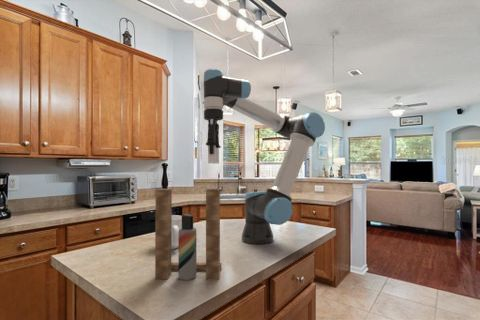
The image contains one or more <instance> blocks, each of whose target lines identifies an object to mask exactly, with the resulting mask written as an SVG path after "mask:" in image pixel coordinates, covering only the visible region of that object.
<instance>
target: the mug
mask: <svg viewBox="0 0 480 320" xmlns="http://www.w3.org/2000/svg"><path fill="white" fill-rule="evenodd" d="M182 216H183V215H178V214H177V215H176V214H172V250H174V249H177V248H178V237H179V229H181V228H182Z"/></svg>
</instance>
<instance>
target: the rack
mask: <svg viewBox="0 0 480 320" xmlns="http://www.w3.org/2000/svg"><path fill="white" fill-rule="evenodd" d="M172 190H173V188H157V189H155V212H154V213H155V215H154V217H155V222H154V223H155V224H154V225H155V229H154V230H155V233H154V234H155V236H154V237H155V239H154V243H155V247H154V248H155V250H154V251H155V254H154V256H155V257H154V259H155V264H154V269H155V270H154V271H155V272H154V273H155V274H154V276H155V277H154V279H155V280H168V279H169V278H170V277H171V276H172V271H178V262H172V250H173V249H172V215H173V214H172V213H173V212H172V210H173V209H172V206H173V203H172V199H173V198H172V197H173V196H172V195H173V194H172V192H173V191H172ZM197 271H203V272H205V280H214V281H215V280H219V279H220V277H221V276H220V275H221V271H222V262H221V189H220V188H207V189H205V262H196V272H197Z"/></svg>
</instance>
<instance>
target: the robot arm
mask: <svg viewBox="0 0 480 320" xmlns="http://www.w3.org/2000/svg"><path fill="white" fill-rule="evenodd" d="M251 91H252V86H251V82H250V81H249V80H246V79H243V78H241V79H240V78H234V77H227V76H224V73H223V71H222V70H221V69H218V68H209V69H206V70H205V71H204V72H203V100H204V101H202V102H201V103H202V105H203V108H204V110H203V119H204V121H205V120H206V121H208V123H207V138H206V139H207V141H206V142H205V146H207V163H208V164H214V165H215V164H220V149H221V147H222V146H221V145H220V137H219V136H220V135H219V134H220V130H219V129H220V124H219V123H218V122H219V121H222V120H223V119H224V111H223V109H224V106H225V107H228V108H230V109H232V110H233V111H236V112H238V113H239V114H242V115H244V116H246V117H248V118H251V119H252V120H254V121H256V122H258V123H259V124H262V125H265V126H266V127H268V128H270V129H272V131H273V132H274V133H275V134H277V135H280V136H282V137H284V138H286V139H289V140H290V143H289V146H288V147H287V150H286V152H285V154H284V157H283V159H282V162H281V164H280V166H279V169H278V172H277V174H276V175H275V179H274V180H273V184H272V185H271V187H267V189H266V191H265V190H264V191H252V192H246V193H245V197H244V208H245V209H244V211H245V213H244V218H245V223H244V227H243V230H242V233H241V240H242V242H243V243H246V244H252V245H265V244H270V243H272V242H273V241H274V233H273V231H272V227H271V225H275V226H280V225H284V224H286V223H287V222H288V221H289V220H290V219H291V217H292V215H293V210H294V208H293V204H292V200H293V197H292V195H291V192H292V191H293V188H294V186H295V182H296V180H297V178H298V177H299V174H300V170H301V168H302V165H303V163H304V161H305V158H306V155H307V153H308V151H309V148H310V147H312V146H314V145H315V143H316V139H317V138H320V137H322V136H323V135H324V133H325V131H326V123H325V121H324V118H323V117H322V116H321V115H320V114H319V113H317V112H315V111H314V112H313V111H312V112H306V113H303V114H300V115H296V116H287V115H285V114H278V113H276V112H275V111H273V110H270V109H268V108H267V107H265V106H263V105H261V104H259V103H257V102H255V101H254V100H251V99H250V98H249V97H250V95H251Z"/></svg>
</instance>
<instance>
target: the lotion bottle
mask: <svg viewBox="0 0 480 320" xmlns="http://www.w3.org/2000/svg"><path fill="white" fill-rule="evenodd" d="M181 216H182V228H181V229H179V237H178V247H177V248H178V259H177V260H178V272H177V273H178V278H179V279H180V280H183V281H190V280H193V279H195V278H197V271H196V263H197V228H195V227H194V220H195V219H194V218H195V217H194V215H193V214H191V213H183V214H182V215H181Z"/></svg>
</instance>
